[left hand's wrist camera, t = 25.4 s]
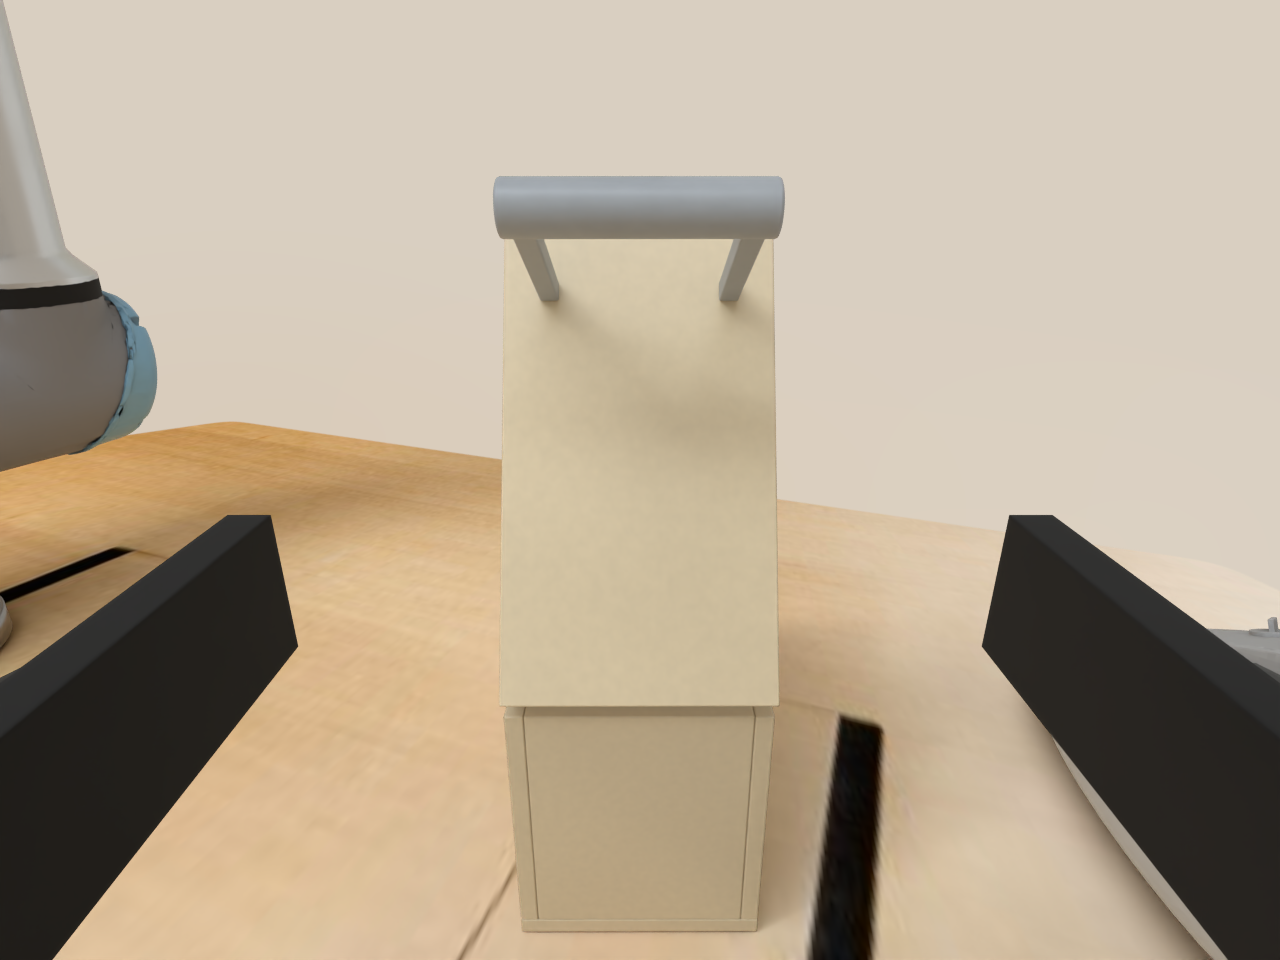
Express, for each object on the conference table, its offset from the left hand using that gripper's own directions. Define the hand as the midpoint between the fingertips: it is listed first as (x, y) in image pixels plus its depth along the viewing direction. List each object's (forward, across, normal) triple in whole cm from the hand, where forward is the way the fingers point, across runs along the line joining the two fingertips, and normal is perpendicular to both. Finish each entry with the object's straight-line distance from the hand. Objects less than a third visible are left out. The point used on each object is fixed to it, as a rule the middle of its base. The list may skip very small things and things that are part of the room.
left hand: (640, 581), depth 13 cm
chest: (+18, 0, -22) cm, 28 cm away
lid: (+14, 0, -2) cm, 14 cm away
